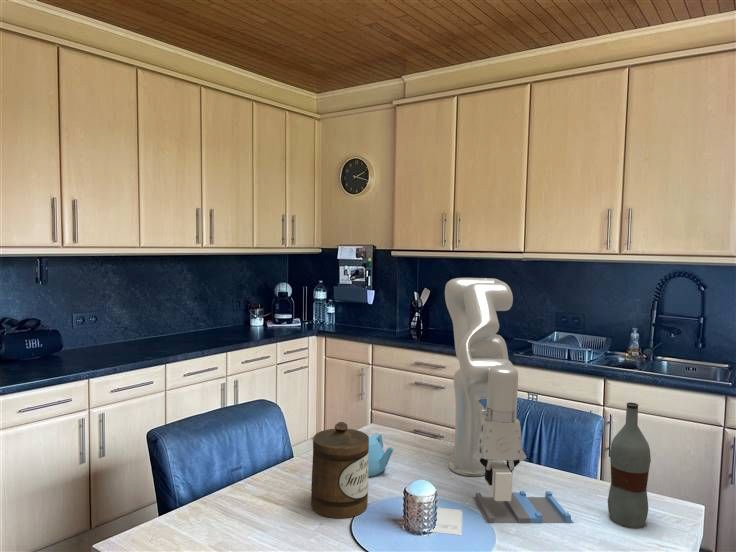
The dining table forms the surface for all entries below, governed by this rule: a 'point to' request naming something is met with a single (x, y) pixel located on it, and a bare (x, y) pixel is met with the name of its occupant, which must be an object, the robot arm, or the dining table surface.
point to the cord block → (500, 481)
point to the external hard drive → (448, 522)
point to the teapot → (377, 455)
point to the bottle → (629, 473)
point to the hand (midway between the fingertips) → (498, 482)
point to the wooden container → (340, 472)
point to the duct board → (522, 509)
